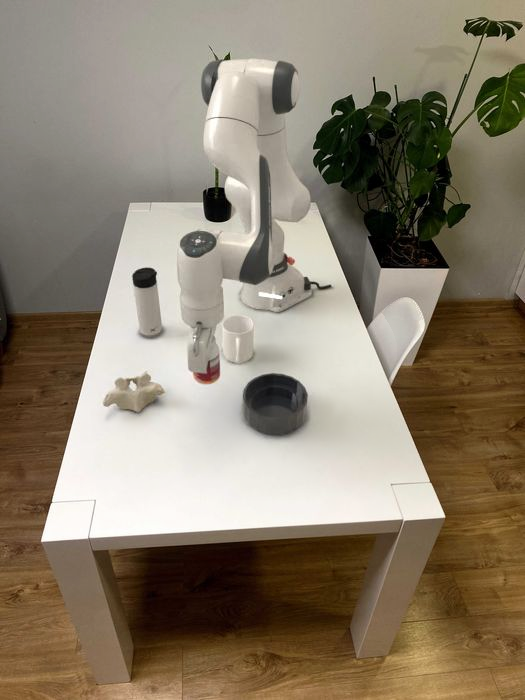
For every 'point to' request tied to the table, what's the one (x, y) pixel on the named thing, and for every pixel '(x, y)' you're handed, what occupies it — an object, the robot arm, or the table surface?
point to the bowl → (274, 403)
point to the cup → (237, 338)
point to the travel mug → (147, 302)
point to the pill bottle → (210, 367)
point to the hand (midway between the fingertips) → (205, 359)
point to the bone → (133, 393)
